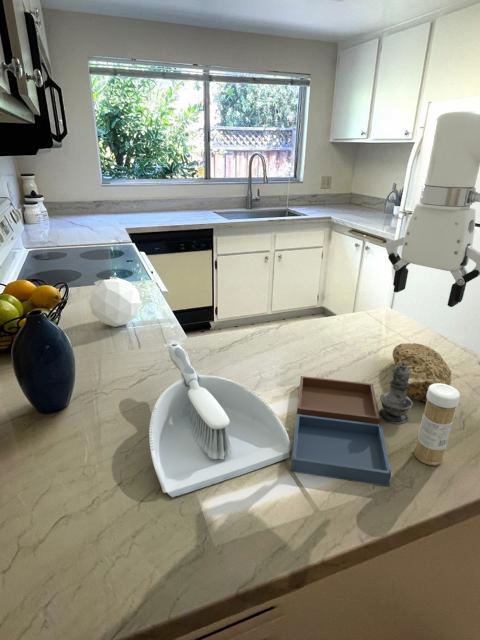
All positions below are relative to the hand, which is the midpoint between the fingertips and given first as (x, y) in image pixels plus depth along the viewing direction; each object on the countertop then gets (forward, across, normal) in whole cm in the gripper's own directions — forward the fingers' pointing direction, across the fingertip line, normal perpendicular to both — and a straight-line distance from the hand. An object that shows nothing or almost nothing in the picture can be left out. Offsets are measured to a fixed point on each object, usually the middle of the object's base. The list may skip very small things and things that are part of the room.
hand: (424, 297), depth 72 cm
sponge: (+24, +3, -13) cm, 27 cm away
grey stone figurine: (+24, 0, +3) cm, 24 cm away
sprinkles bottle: (+24, -10, +10) cm, 28 cm away
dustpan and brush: (+24, +25, +32) cm, 47 cm away
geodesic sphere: (+24, +77, +22) cm, 84 cm away
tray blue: (+24, +1, +20) cm, 31 cm away
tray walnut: (+24, +10, +9) cm, 27 cm away
